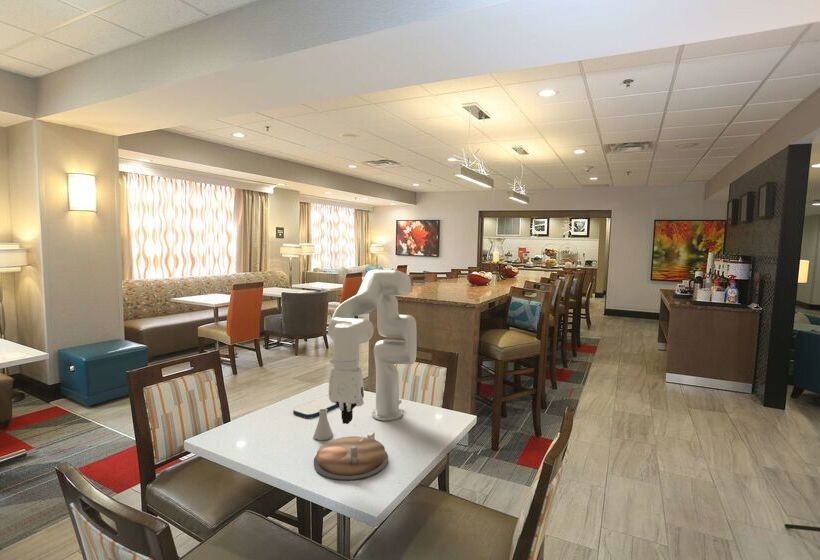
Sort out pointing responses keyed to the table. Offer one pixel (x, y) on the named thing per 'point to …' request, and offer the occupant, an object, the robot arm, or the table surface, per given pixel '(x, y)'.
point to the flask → (323, 427)
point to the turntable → (350, 455)
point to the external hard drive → (314, 407)
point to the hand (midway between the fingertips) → (347, 421)
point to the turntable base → (352, 477)
